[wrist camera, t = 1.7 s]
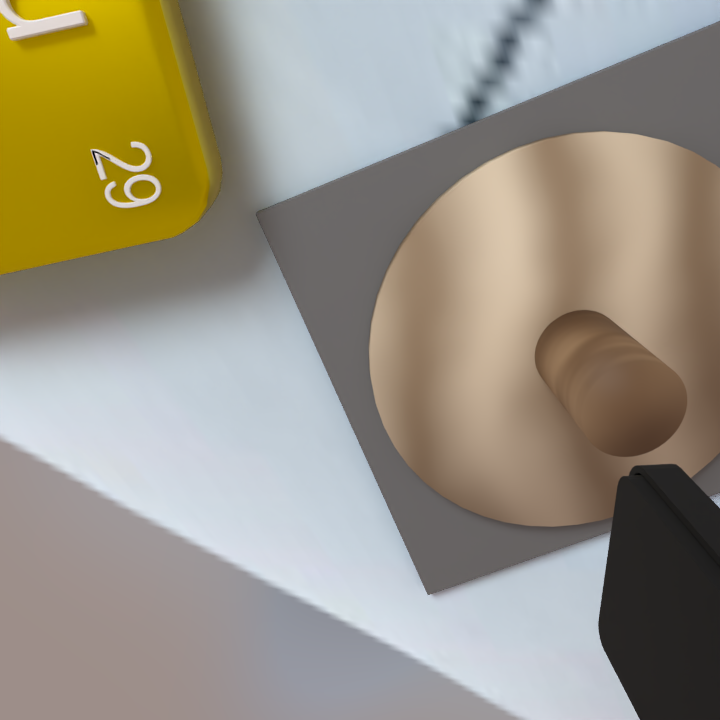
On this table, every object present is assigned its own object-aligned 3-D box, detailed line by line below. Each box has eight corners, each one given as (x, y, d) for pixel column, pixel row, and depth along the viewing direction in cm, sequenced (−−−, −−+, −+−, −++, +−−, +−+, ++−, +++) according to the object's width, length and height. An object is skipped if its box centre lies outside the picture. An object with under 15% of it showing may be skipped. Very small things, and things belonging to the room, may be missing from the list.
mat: (761, 4, 28) (770, 2, 27) (824, 447, 36) (832, 453, 35) (256, 212, 30) (255, 214, 29) (426, 587, 38) (427, 595, 37)
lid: (737, 56, 28) (860, 49, 22) (799, 439, 35) (906, 518, 29) (302, 234, 29) (299, 277, 23) (445, 566, 36) (473, 667, 30)
